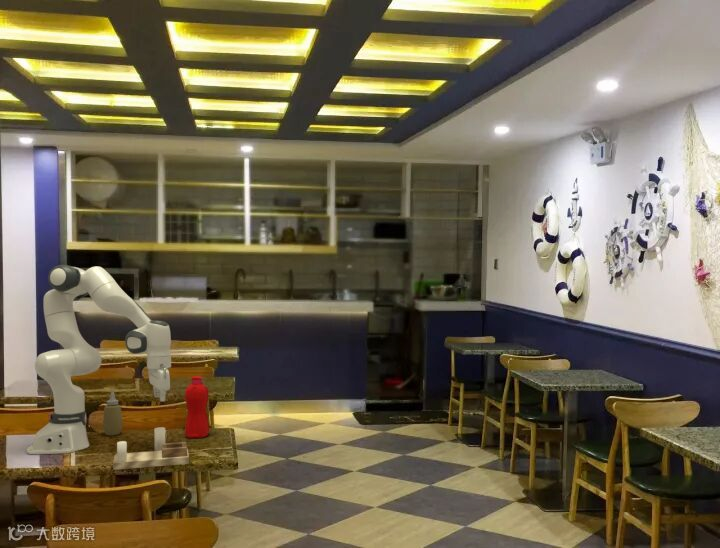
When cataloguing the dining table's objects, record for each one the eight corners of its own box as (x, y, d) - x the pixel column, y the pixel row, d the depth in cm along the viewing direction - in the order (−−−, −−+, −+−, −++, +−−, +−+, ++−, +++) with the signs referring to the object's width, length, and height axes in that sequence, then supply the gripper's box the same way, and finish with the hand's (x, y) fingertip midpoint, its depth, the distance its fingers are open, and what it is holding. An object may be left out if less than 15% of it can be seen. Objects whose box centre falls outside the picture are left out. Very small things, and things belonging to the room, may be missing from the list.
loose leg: (154, 453, 271) (154, 430, 271) (154, 450, 275) (154, 427, 275) (165, 452, 272) (165, 429, 272) (165, 450, 276) (165, 426, 276)
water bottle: (209, 438, 293) (209, 378, 293) (183, 438, 293) (182, 378, 293) (214, 433, 302) (214, 374, 302) (189, 433, 303) (188, 374, 302)
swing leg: (118, 455, 259) (118, 437, 259) (127, 454, 260) (127, 437, 260) (117, 461, 250) (116, 443, 250) (126, 461, 251) (126, 443, 251)
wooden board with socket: (113, 469, 250) (113, 454, 250) (115, 460, 261) (114, 446, 261) (189, 463, 257) (189, 448, 257) (187, 455, 268) (187, 440, 268)
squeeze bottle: (98, 435, 299) (98, 393, 299) (111, 431, 307) (110, 389, 307) (114, 437, 296) (113, 394, 296) (126, 432, 304) (126, 390, 304)
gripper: (173, 365, 265) (174, 402, 265) (161, 359, 283) (162, 394, 283) (156, 367, 262) (157, 404, 262) (145, 360, 280) (145, 395, 280)
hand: (159, 399), depth 273 cm, fingers open, 8 cm apart
